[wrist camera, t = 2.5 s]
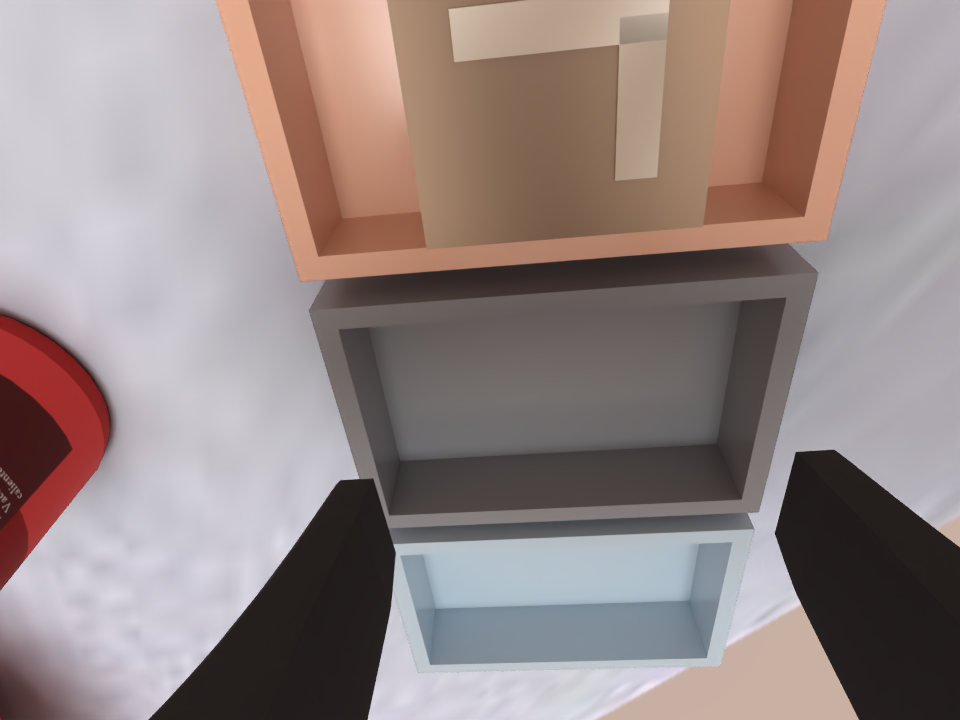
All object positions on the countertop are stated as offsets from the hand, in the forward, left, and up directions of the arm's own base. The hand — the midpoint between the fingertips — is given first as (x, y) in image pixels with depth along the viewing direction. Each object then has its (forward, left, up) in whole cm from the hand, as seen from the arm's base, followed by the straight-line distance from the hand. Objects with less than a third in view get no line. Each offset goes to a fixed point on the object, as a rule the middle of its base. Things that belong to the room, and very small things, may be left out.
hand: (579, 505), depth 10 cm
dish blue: (0, +12, -8) cm, 14 cm away
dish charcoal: (0, +3, -8) cm, 9 cm away
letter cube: (0, -6, -8) cm, 10 cm away
